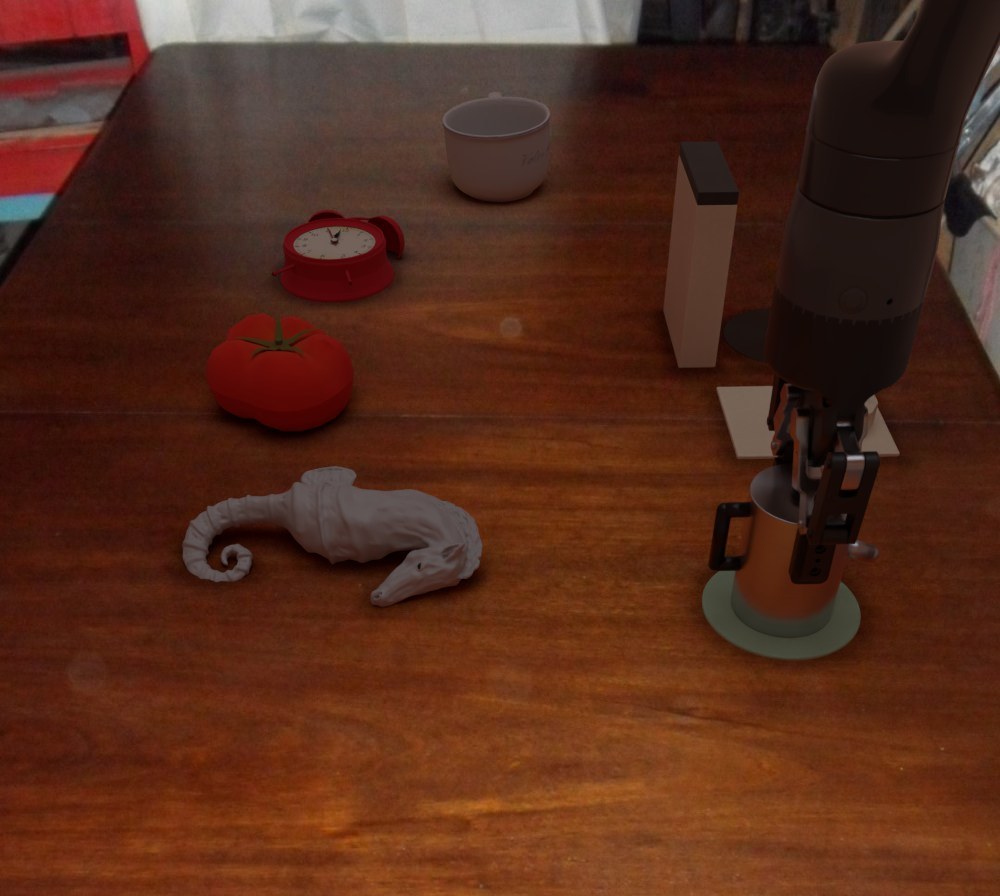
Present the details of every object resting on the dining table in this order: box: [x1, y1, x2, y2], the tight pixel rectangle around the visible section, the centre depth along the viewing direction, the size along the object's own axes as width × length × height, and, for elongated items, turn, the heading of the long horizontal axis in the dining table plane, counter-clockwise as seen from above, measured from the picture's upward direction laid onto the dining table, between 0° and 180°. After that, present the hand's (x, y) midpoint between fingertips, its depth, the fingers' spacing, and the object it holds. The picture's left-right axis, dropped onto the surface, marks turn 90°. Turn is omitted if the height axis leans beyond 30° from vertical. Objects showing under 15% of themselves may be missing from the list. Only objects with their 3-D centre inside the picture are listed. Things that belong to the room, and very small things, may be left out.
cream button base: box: [715, 385, 901, 460], centre depth 90 cm, size 12×10×3 cm
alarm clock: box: [271, 209, 406, 304], centre depth 109 cm, size 10×6×15 cm
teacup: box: [441, 91, 552, 203], centre depth 122 cm, size 14×11×8 cm
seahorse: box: [181, 465, 484, 608], centre depth 78 cm, size 5×12×20 cm
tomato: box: [205, 312, 355, 432], centre depth 92 cm, size 10×11×6 cm
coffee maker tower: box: [662, 141, 740, 369], centre depth 96 cm, size 3×10×15 cm, turn 2°
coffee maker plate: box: [722, 307, 771, 364], centre depth 101 cm, size 10×10×1 cm
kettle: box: [707, 463, 880, 637], centre depth 72 cm, size 10×6×9 cm, turn 92°
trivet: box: [700, 571, 862, 661], centre depth 76 cm, size 10×10×1 cm
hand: (794, 543), depth 72 cm, fingers closed on kettle, 6 cm apart
